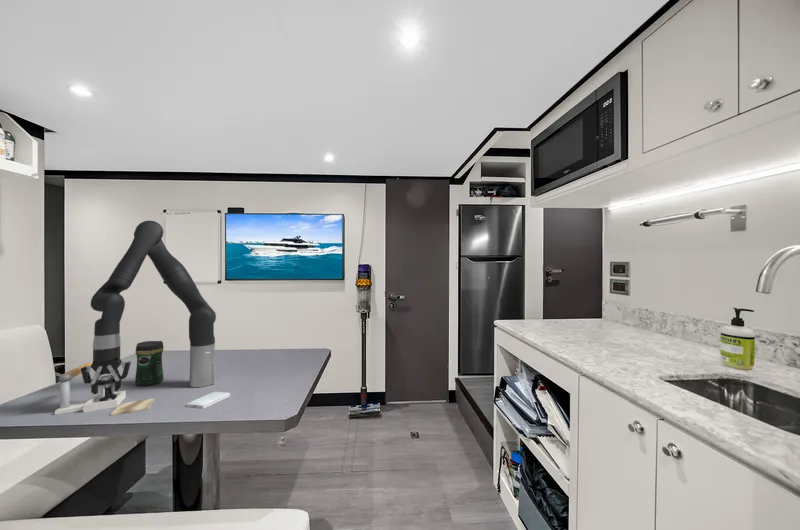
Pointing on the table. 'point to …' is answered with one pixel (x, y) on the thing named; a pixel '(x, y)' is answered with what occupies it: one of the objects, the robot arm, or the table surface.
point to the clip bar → (72, 373)
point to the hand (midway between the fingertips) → (106, 392)
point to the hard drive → (208, 400)
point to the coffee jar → (149, 363)
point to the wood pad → (132, 406)
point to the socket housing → (85, 406)
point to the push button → (107, 388)
